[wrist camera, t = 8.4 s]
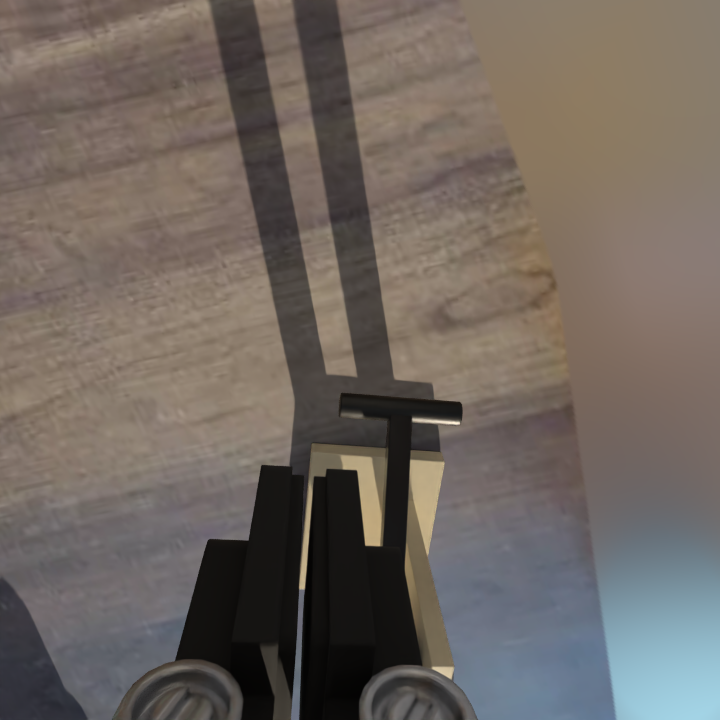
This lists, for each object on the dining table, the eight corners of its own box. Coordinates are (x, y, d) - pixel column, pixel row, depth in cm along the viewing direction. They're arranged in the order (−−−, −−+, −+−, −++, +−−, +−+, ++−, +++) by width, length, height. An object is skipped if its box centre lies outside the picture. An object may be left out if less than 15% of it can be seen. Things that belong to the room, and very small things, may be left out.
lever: (338, 395, 32) (342, 389, 30) (454, 404, 33) (466, 399, 30) (317, 690, 30) (320, 709, 27) (442, 695, 30) (455, 714, 28)
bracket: (311, 442, 38) (307, 607, 25) (441, 451, 39) (501, 616, 26) (299, 576, 42) (289, 781, 29) (418, 582, 42) (461, 785, 29)
